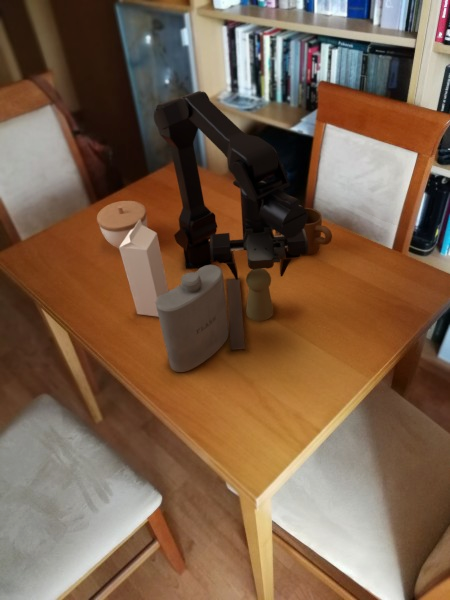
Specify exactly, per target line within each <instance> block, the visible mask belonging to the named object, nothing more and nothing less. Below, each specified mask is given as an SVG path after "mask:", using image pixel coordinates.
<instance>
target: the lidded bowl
mask: <svg viewBox="0 0 450 600" xmlns="http://www.w3.org/2000/svg"><path fill="white" fill-rule="evenodd" d="M140 219H141V222H142V225H143V226H145V227H147V228H149V225H148V216H147V209H146V207H145V206H144V204H142V203H141V202H139V201H135V200H120V201H115V202H112V203H110V204H107V205H106V206H104V207H102V209H100V211H99V212H98V213H97V215H96V221H97V224H98V226H99V229H100V232H101V233H102V236H103V237H104V239H105V240H106V241H107V243H108V244H110V245H111V246H113V247H115V248H117V249H118V250H120V249H119V247H120V245H121V244H122V242H123V241H124V239H125V238H126V236H127V235H128V233H129V232H130V230H132V229H134V227H135V226H136V224H137V223H138V221H139V220H140Z"/></svg>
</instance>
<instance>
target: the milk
mask: <svg viewBox="0 0 450 600" xmlns="http://www.w3.org/2000/svg"><path fill="white" fill-rule="evenodd" d="M118 250H119V253H120V257H121V260H122V263H123V267H124V270H125V275H126V277H127V281H128V285H129V289H130V292H131V295H132V299H133V303H134V306H135V310H136V314H137V315H142V316H149V317H150V316H151V317H157V318H159V316H158V312H157V308H156V303H155V302H156V299H157V298H158V297H159V296H160V295H162V294H164V293H166V292H168V291H170V290H169V285H168V281H167V275H166V272H165V271H166V270H165V266H164V262H163V256H162V252H161V247H160V242H159V237H158V232H156V231H154V230H152V229H150V228H149V227H148V228H147V227H145V226H143V225H142V222H141V219H140V220H139V221H138V223H137V224H136V226H135V227H134V229H132V230H130V232H129V233H128V235H127V236H126V238H125V239H124V241H123V242H122V244H121V245H120V247H119V249H118Z"/></svg>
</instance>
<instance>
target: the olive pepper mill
mask: <svg viewBox="0 0 450 600" xmlns="http://www.w3.org/2000/svg"><path fill="white" fill-rule="evenodd" d="M245 283H246V285H247V287H248V291H247V293H248V294H247V301H246V306H245V307H246V308H245V313H246V316H247V317H248V319H250V320H252V321H256V322H263V321H266V320H269V319H270V318H271V317H272V316H273V315H274V307H273V303H272V297H271V296H272V295H271V291H270V287H271V283H272V276H271V273H270V272H269V271H268V270H266V268H261V269H255V270H252V269H250V271H249V272H248V273H247V274H246V279H245Z"/></svg>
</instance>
